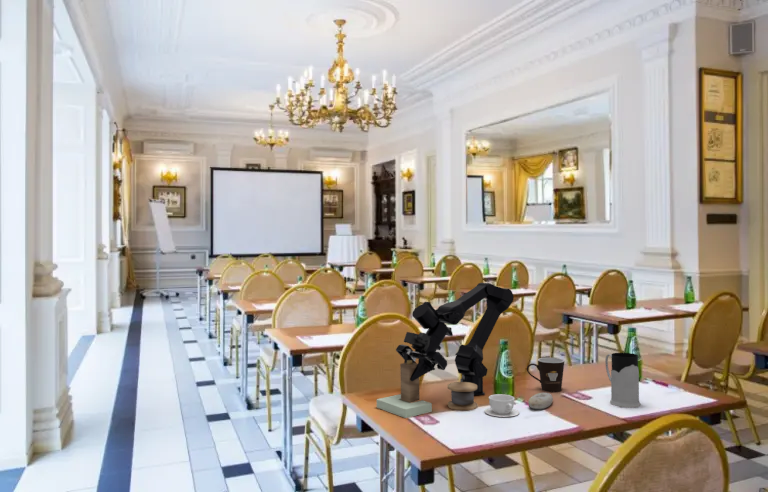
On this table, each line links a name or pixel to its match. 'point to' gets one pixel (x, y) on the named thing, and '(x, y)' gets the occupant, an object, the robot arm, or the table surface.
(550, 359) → the coffee mug
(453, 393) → the spool
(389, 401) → the notched board
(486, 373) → the robot arm
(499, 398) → the teacup
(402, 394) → the tab block
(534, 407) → the decorative stone
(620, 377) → the glass holder
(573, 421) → the table surface
